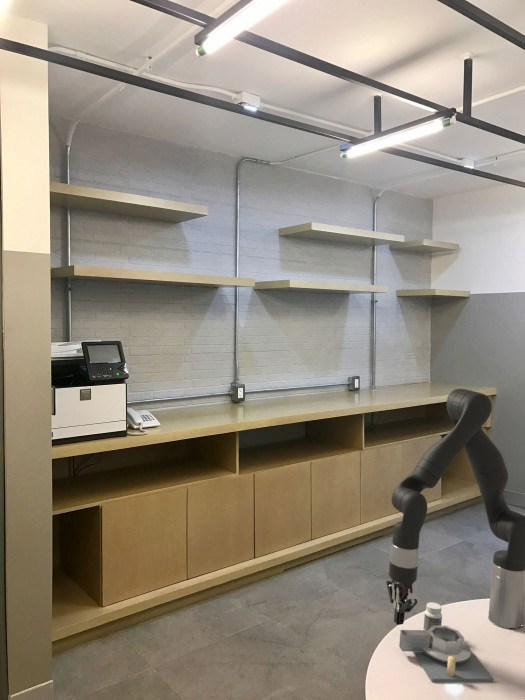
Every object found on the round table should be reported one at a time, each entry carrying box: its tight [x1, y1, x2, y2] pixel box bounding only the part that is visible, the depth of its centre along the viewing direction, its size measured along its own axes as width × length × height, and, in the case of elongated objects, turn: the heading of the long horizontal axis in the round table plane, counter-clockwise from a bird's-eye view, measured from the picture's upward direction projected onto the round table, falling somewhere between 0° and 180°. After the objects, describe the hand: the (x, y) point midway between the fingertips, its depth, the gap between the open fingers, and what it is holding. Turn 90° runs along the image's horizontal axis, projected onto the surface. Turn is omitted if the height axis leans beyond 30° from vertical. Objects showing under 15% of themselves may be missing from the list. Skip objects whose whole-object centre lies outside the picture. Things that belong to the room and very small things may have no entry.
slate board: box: [411, 650, 495, 683], centre depth 150 cm, size 16×18×5 cm
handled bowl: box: [399, 625, 472, 663], centre depth 152 cm, size 18×13×4 cm
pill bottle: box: [422, 602, 443, 631], centre depth 163 cm, size 5×5×8 cm
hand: (398, 623), depth 158 cm, fingers closed
